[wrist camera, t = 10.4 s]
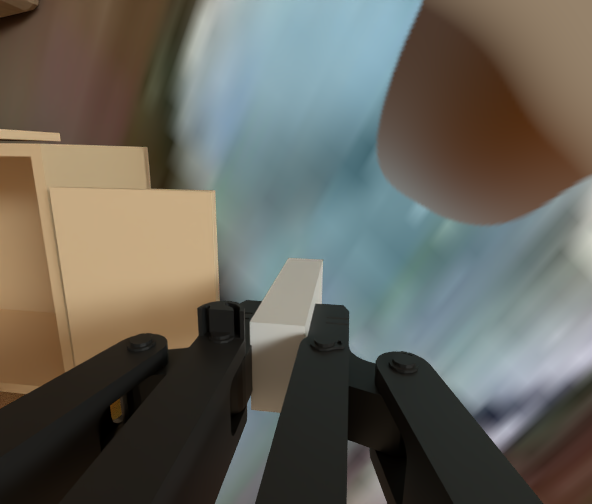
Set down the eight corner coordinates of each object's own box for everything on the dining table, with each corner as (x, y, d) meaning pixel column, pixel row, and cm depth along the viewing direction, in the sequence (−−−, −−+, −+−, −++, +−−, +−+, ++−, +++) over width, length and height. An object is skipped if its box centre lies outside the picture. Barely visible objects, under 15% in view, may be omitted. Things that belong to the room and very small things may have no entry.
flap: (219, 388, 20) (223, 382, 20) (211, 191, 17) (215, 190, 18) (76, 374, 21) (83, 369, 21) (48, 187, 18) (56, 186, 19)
